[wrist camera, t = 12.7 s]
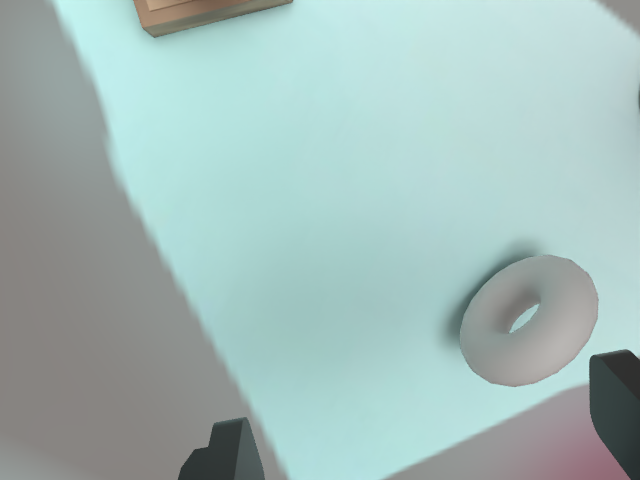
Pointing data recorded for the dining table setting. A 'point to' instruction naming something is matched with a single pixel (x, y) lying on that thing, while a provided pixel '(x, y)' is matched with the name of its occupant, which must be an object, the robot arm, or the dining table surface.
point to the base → (194, 12)
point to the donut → (540, 331)
